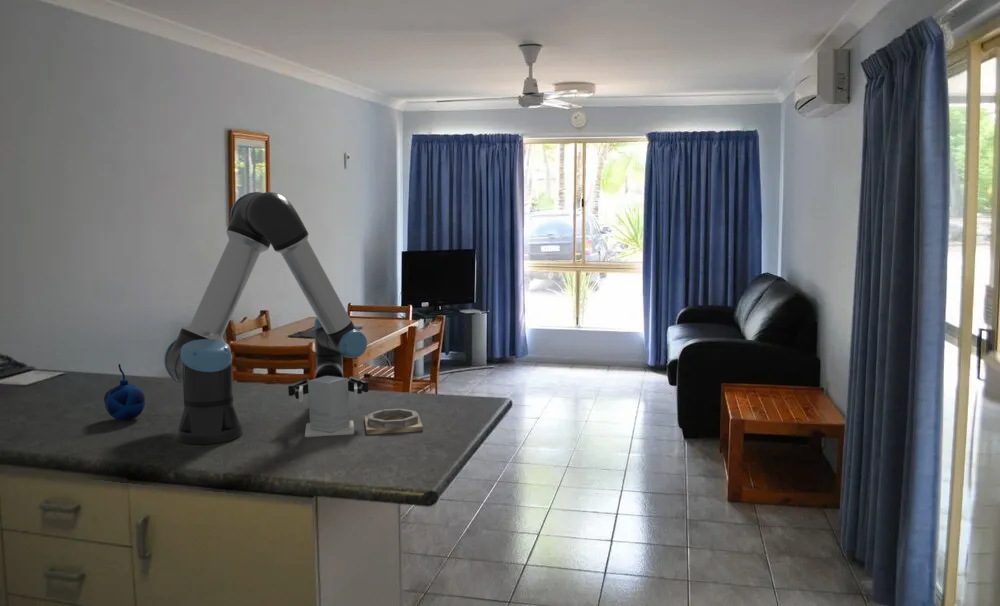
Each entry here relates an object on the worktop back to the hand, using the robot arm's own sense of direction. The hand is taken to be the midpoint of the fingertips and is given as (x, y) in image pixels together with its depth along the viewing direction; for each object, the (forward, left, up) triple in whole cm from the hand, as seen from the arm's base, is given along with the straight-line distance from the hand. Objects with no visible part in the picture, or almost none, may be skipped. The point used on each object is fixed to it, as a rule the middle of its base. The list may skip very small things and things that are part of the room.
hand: (328, 395), depth 213 cm
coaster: (0, +3, -9) cm, 10 cm away
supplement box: (0, +3, -9) cm, 10 cm away
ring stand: (+16, +3, -9) cm, 19 cm away
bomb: (-54, +25, -10) cm, 60 cm away
